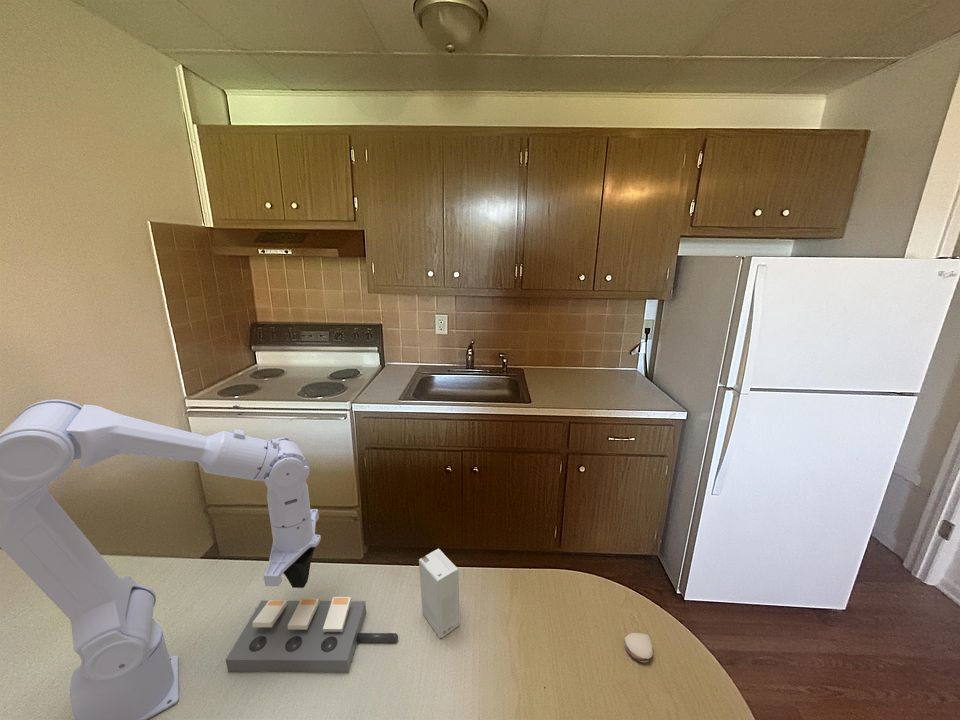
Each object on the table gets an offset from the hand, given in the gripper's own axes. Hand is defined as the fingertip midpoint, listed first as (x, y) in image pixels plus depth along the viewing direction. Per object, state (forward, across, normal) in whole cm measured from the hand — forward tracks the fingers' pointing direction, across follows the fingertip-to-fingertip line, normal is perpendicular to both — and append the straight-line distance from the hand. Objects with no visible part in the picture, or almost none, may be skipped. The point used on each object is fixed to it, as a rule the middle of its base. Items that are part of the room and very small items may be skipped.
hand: (299, 584), depth 64 cm
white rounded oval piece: (+8, -4, -56) cm, 57 cm away
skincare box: (+8, 0, -23) cm, 25 cm away
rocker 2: (+4, -2, -7) cm, 8 cm away
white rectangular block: (+4, -2, +4) cm, 6 cm away
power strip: (+8, -3, -4) cm, 9 cm away
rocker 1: (+4, -2, -1) cm, 5 cm away
